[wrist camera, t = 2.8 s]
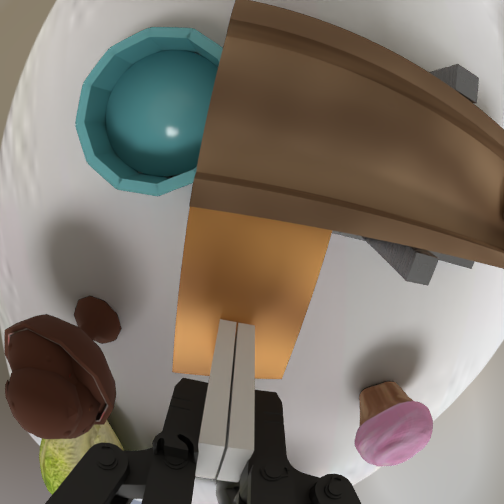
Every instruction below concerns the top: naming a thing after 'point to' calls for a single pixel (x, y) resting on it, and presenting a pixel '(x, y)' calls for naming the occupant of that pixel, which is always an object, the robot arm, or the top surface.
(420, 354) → the top surface
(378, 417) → the cupcake
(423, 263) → the chute stand
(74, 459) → the lettuce
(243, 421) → the robot arm
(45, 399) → the ice cream bowl
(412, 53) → the top surface
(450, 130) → the chute
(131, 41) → the teal bowl
